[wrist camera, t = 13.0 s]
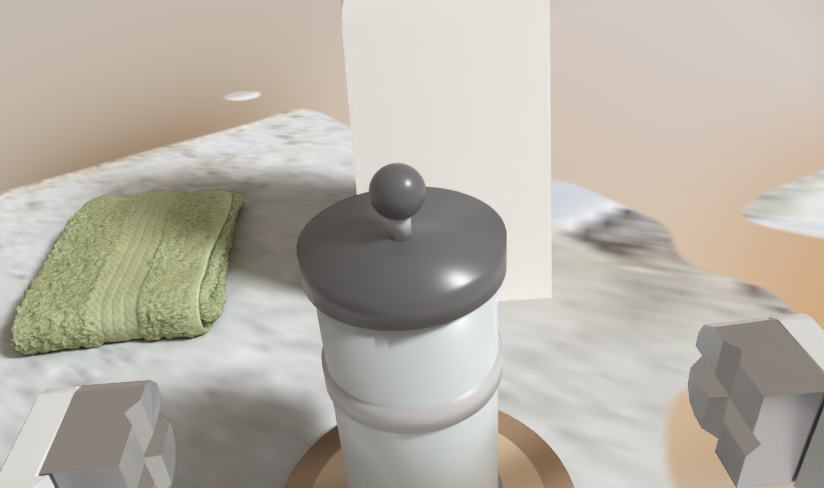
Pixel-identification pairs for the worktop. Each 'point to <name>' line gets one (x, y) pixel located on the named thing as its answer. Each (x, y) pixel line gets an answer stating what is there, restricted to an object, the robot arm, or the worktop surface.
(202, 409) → the worktop surface
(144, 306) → the washcloth
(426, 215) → the french press
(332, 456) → the trivet
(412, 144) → the milk
